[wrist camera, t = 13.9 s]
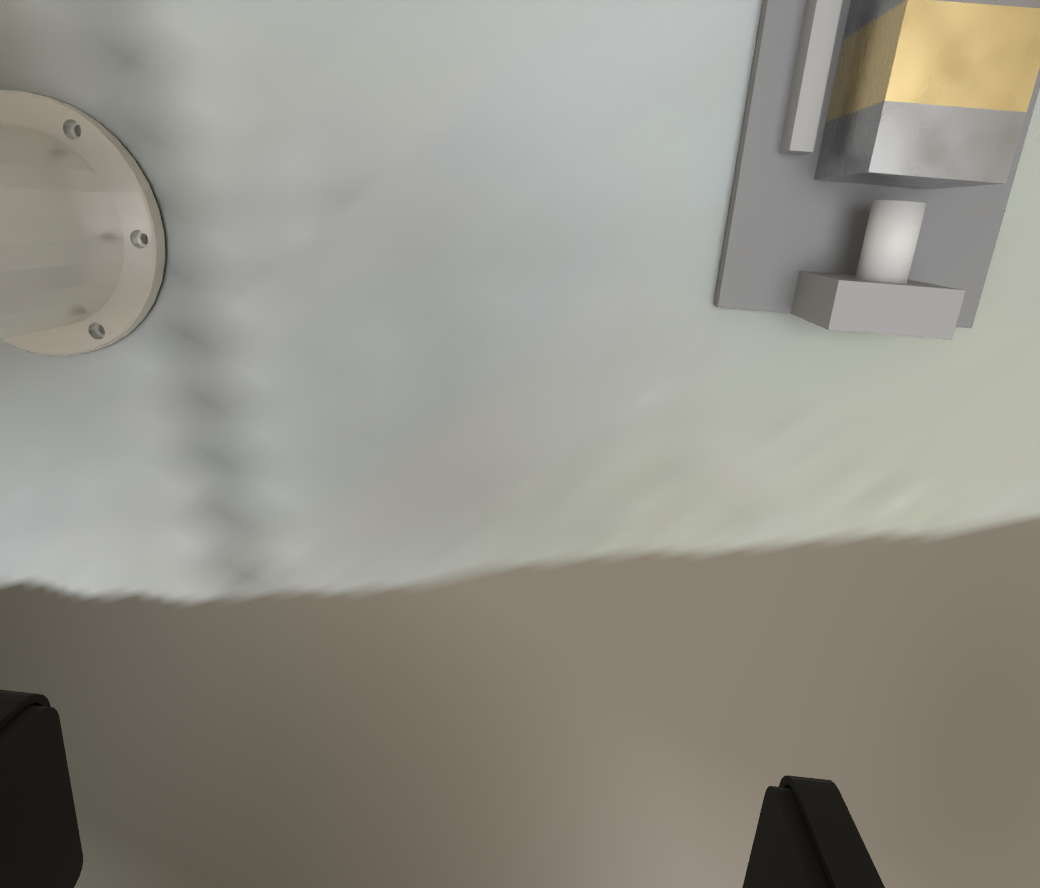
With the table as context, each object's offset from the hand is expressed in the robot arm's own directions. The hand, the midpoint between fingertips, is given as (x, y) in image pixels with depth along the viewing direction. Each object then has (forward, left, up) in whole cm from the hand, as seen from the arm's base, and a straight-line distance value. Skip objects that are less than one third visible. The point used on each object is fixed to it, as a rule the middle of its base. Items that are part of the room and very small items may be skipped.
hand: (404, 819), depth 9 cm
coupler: (+15, +14, -27) cm, 34 cm away
